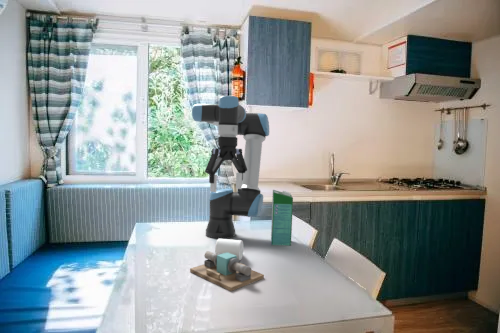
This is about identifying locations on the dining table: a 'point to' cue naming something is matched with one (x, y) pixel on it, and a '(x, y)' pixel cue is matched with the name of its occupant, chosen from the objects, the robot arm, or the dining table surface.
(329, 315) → the dining table surface
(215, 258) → the shaft board
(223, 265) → the block
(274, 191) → the milk carton
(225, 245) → the mug
